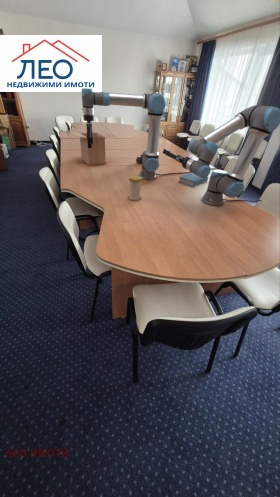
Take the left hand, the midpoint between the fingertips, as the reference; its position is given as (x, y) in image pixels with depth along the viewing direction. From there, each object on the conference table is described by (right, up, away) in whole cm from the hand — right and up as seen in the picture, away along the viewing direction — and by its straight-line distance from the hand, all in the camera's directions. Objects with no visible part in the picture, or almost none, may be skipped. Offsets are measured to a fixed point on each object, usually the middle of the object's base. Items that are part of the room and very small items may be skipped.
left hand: (90, 146), depth 173 cm
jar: (+35, -42, -7) cm, 55 cm away
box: (-11, +13, +64) cm, 66 cm away
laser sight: (+45, +12, +68) cm, 82 cm away
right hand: (+60, -14, -19) cm, 65 cm away
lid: (+35, -30, -16) cm, 49 cm away
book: (+87, -19, +30) cm, 95 cm away
